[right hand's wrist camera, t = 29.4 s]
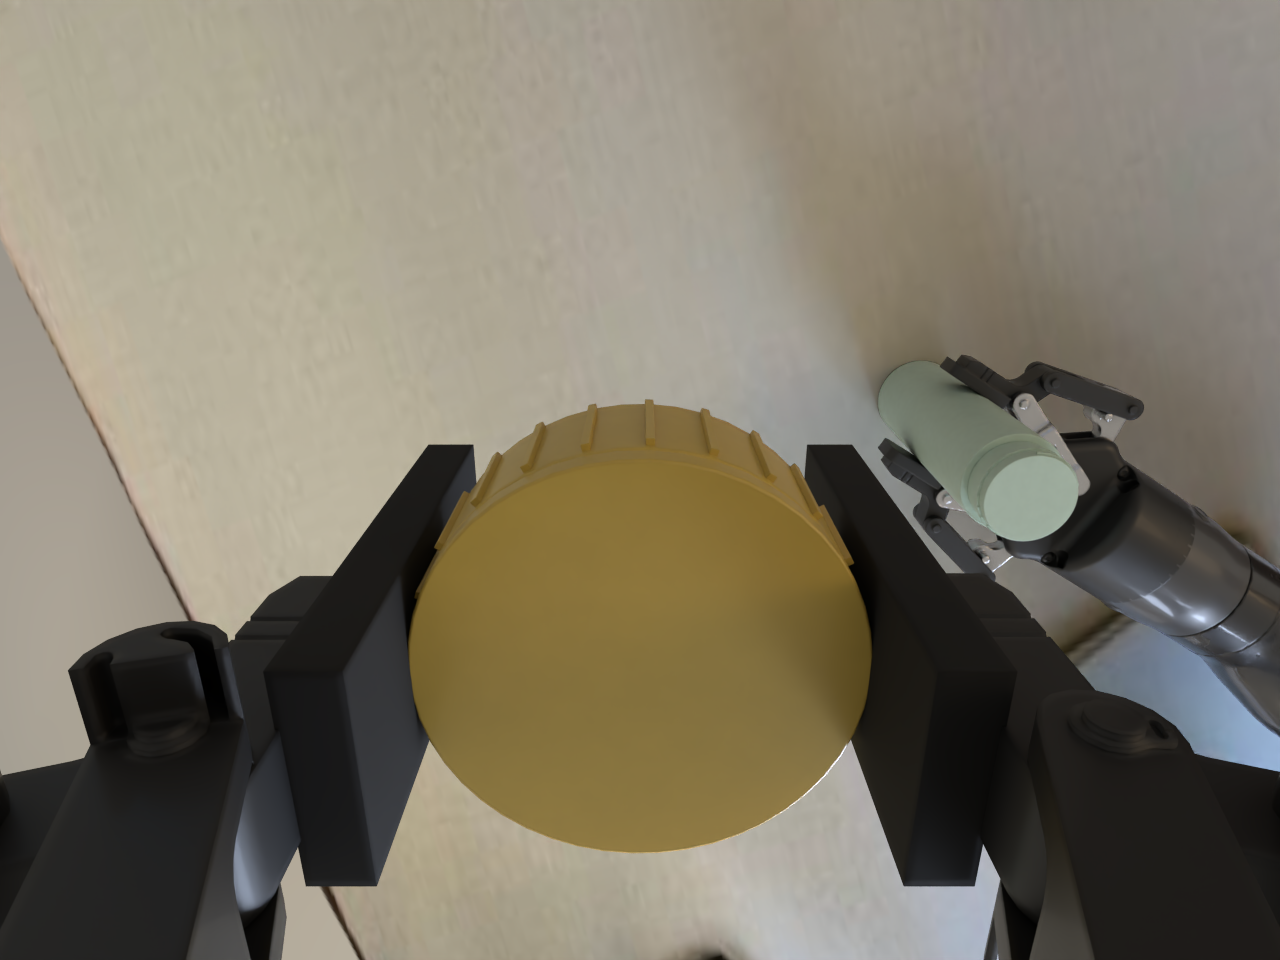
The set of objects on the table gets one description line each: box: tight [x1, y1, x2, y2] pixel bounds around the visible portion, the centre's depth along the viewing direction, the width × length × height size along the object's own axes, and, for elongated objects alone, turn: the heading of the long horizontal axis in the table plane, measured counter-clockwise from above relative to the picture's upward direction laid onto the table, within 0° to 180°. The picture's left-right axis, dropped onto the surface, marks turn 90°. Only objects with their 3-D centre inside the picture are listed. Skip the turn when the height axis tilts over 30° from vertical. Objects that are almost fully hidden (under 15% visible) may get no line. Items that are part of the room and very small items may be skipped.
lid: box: [408, 399, 872, 853], centre depth 11 cm, size 6×6×2 cm
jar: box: [878, 361, 1079, 541], centre depth 45 cm, size 5×5×17 cm
